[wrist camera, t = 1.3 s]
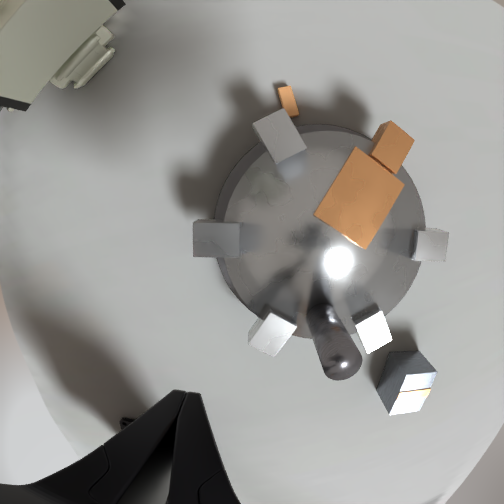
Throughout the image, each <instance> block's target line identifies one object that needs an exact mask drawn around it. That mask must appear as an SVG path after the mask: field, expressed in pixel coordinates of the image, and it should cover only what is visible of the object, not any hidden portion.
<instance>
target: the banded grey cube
mask: <svg viewBox="0 0 504 504" xmlns="http://www.w3.org/2000/svg"><path fill="white" fill-rule="evenodd" d="M436 374H437V371H436V370H435V369H434V367H433V366H432V365H431V364H430V363H429V362H428V360H427V359H426V358H425V357H424V356H423V355H422V354H421V353H420V351H403V352H390V353H389V356H388V359H387V362H386V365H385V368H384V371H383V373H382V376H381V379H380V381H379V384H378V387H377V389H376V391H377V392H378V394H379V396H380V398H381V400H382V402H383V404H384V406H385V407H386V409H387V411H388V413H389V415H393V414H400V413H407V412H414V411H419V410H420V408H421V406H422V404H423V402H424V400H425V398H426V397H427V396H428V394H429V392H430V388H431V385H432V383H433V381H434V379H435V376H436Z"/></svg>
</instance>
